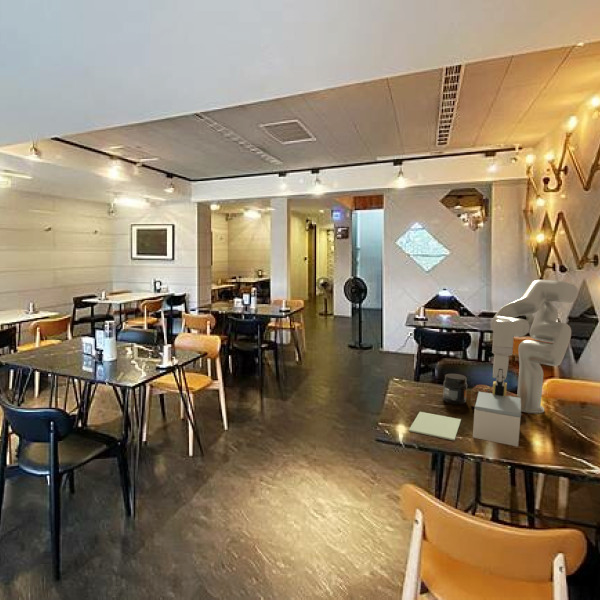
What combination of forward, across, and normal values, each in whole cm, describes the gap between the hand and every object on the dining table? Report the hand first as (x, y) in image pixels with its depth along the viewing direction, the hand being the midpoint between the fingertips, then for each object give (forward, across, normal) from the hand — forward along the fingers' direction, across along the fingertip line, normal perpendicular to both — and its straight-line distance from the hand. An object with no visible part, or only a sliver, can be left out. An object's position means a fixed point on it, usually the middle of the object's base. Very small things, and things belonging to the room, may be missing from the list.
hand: (499, 392), depth 169 cm
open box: (+13, +10, 0) cm, 17 cm away
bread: (+13, -16, -2) cm, 21 cm away
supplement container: (+13, -18, -19) cm, 30 cm away
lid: (+3, +9, 0) cm, 9 cm away
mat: (+13, +16, -22) cm, 30 cm away
